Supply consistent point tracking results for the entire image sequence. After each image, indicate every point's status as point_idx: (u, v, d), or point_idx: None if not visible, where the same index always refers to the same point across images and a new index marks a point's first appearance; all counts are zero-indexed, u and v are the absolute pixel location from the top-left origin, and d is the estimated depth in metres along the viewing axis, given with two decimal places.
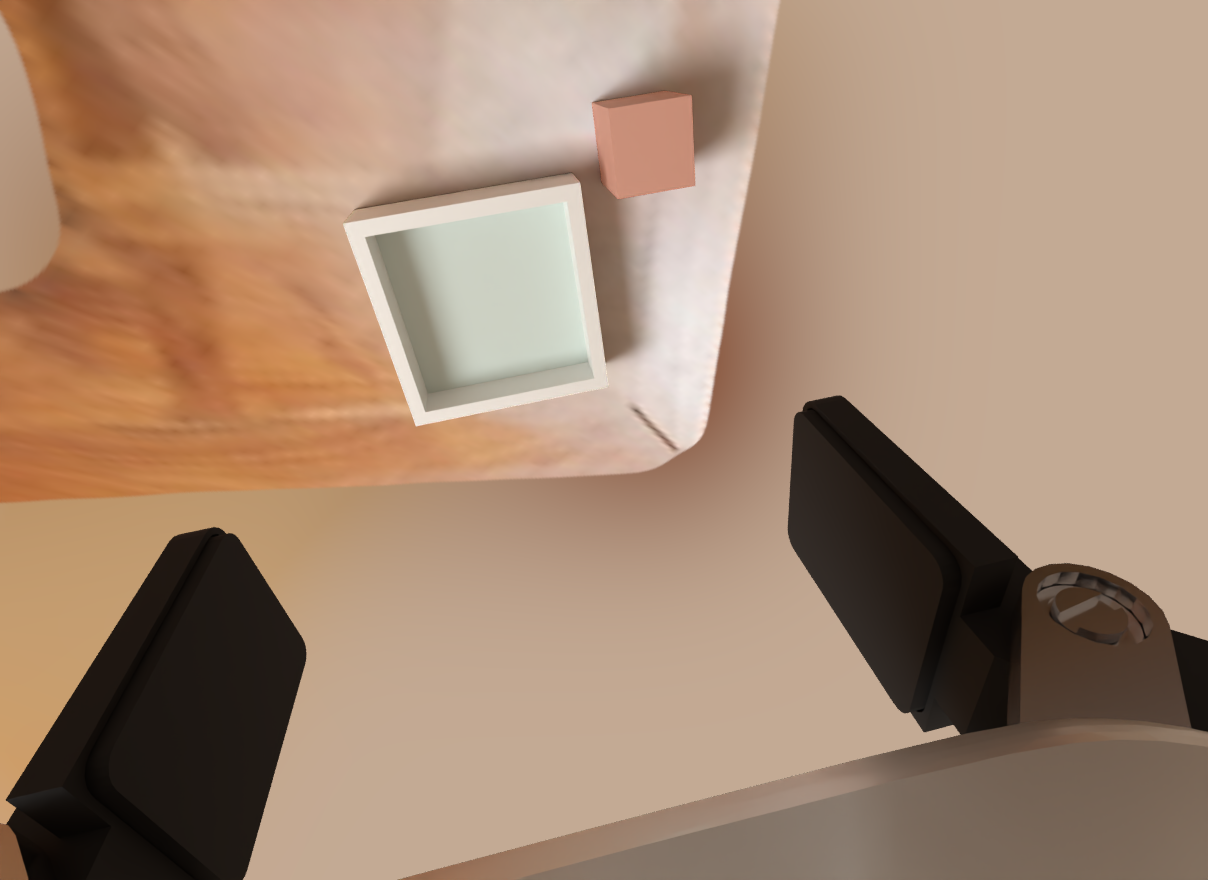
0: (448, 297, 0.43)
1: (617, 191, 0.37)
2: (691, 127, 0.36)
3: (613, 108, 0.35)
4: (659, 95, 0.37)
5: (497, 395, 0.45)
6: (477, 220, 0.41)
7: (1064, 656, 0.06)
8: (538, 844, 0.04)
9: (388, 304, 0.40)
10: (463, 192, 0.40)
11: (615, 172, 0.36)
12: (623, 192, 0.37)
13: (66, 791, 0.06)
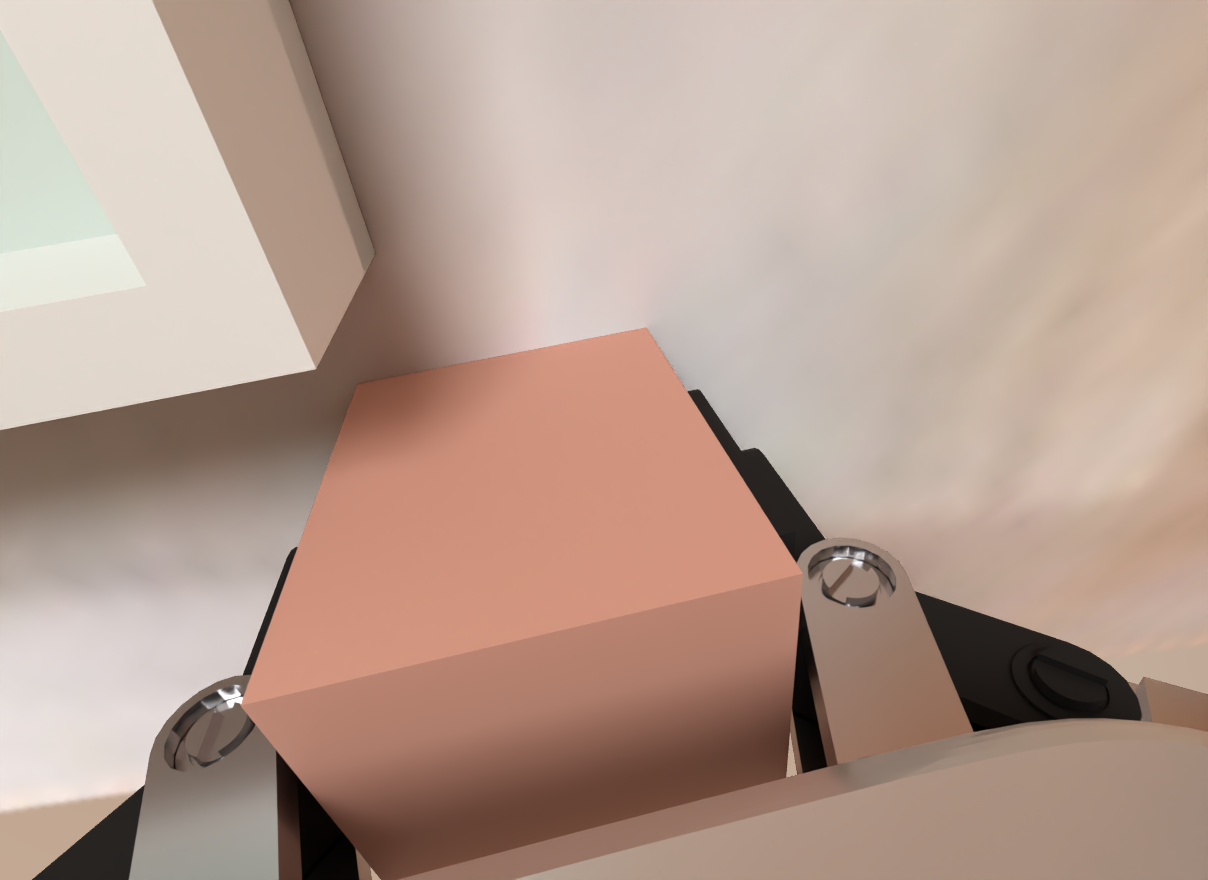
0: None
1: (297, 685, 0.05)
2: None
3: None
4: None
5: None
6: None
7: (842, 629, 0.06)
8: (538, 844, 0.04)
9: None
10: None
11: (425, 655, 0.05)
12: (299, 720, 0.05)
13: None
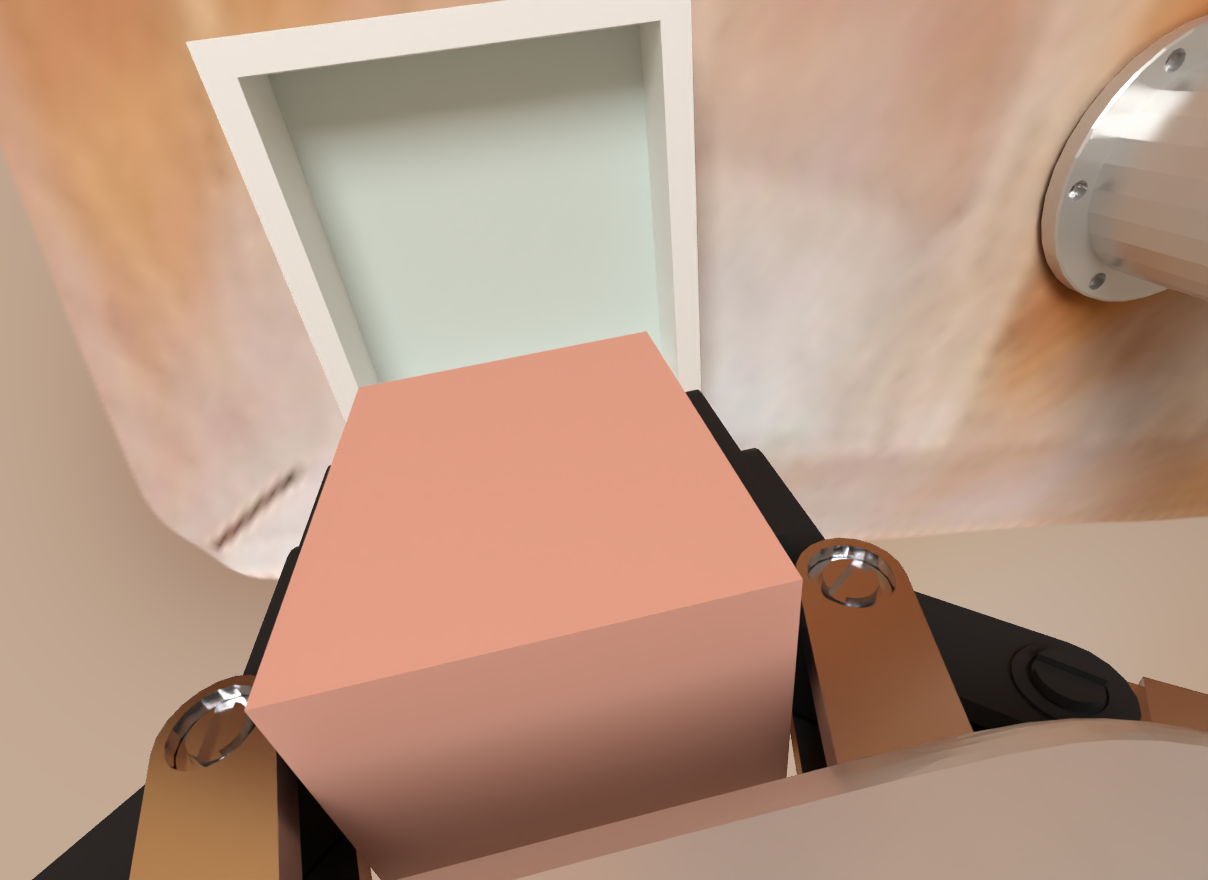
0: (502, 159, 0.23)
1: (300, 690, 0.05)
2: None
3: (793, 596, 0.06)
4: None
5: (310, 257, 0.21)
6: (633, 227, 0.25)
7: (842, 629, 0.06)
8: (538, 844, 0.04)
9: (517, 39, 0.19)
10: None
11: (427, 660, 0.05)
12: (303, 724, 0.05)
13: None
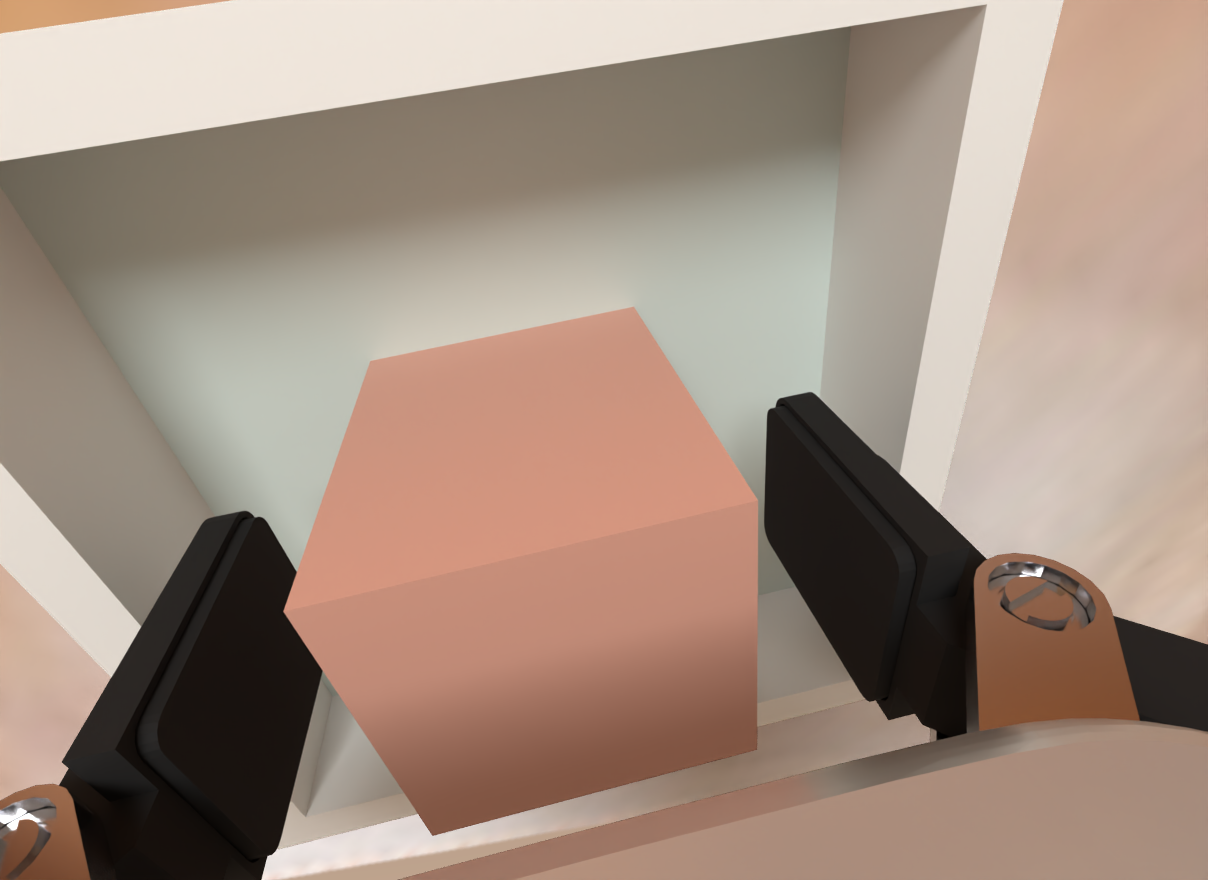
0: (538, 305, 0.11)
1: (330, 595, 0.06)
2: (649, 774, 0.09)
3: (751, 518, 0.07)
4: None
5: (112, 567, 0.09)
6: None
7: (1016, 645, 0.06)
8: (538, 844, 0.04)
9: (604, 63, 0.07)
10: None
11: (437, 571, 0.06)
12: (332, 627, 0.06)
13: (118, 754, 0.06)
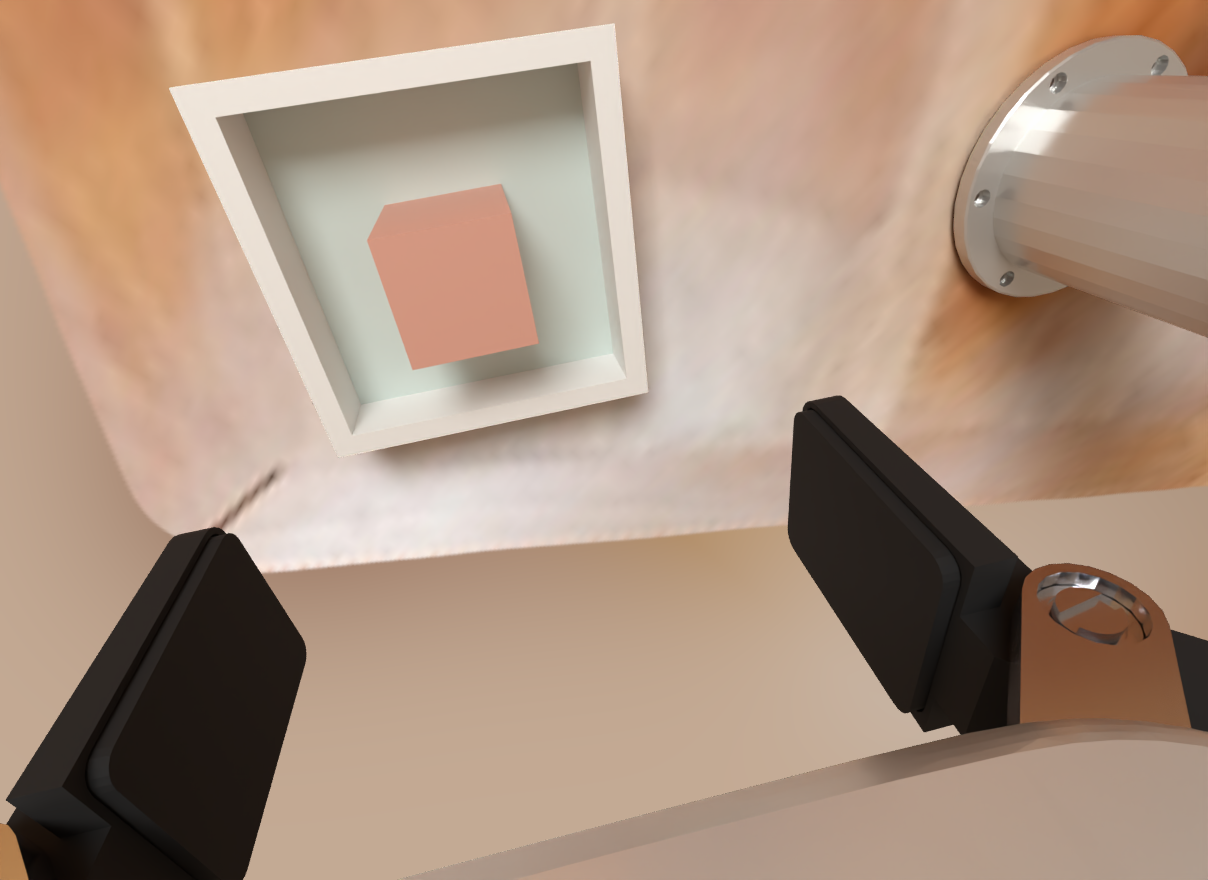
0: (458, 181, 0.25)
1: (380, 238, 0.20)
2: (496, 350, 0.23)
3: (512, 222, 0.21)
4: None
5: (285, 273, 0.23)
6: (581, 239, 0.28)
7: (1064, 656, 0.06)
8: (538, 845, 0.04)
9: (465, 79, 0.21)
10: None
11: (412, 232, 0.21)
12: (380, 249, 0.21)
13: (66, 791, 0.06)
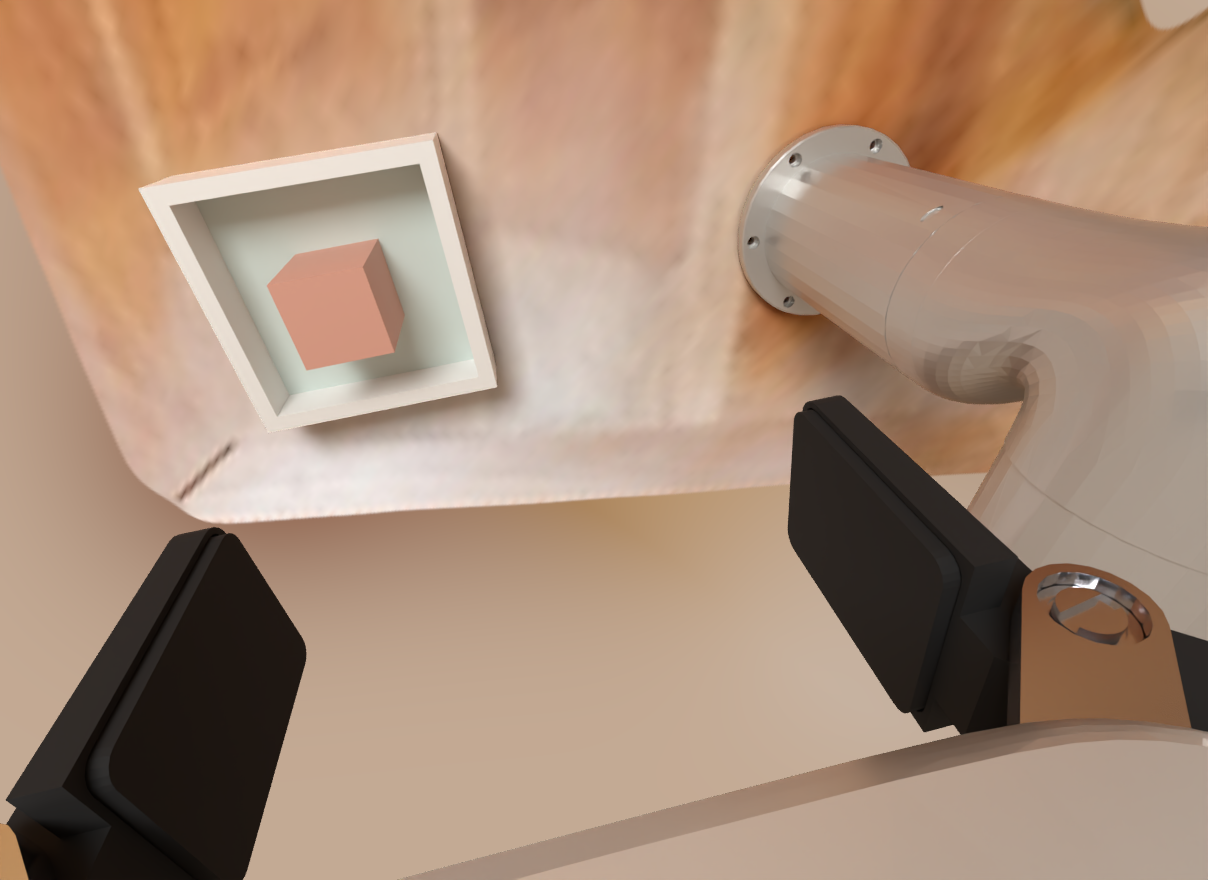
0: (346, 237, 0.36)
1: (275, 283, 0.31)
2: (364, 357, 0.34)
3: (364, 272, 0.32)
4: (394, 314, 0.36)
5: (222, 304, 0.34)
6: (442, 275, 0.38)
7: (1063, 656, 0.06)
8: (537, 844, 0.04)
9: (334, 177, 0.32)
10: (469, 260, 0.39)
11: (297, 279, 0.31)
12: (276, 291, 0.31)
13: (65, 791, 0.06)
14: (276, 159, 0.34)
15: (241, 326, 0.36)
